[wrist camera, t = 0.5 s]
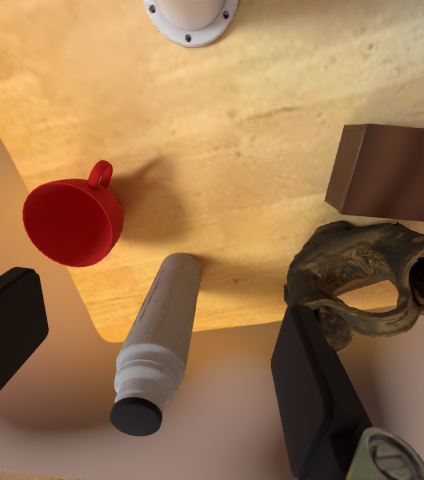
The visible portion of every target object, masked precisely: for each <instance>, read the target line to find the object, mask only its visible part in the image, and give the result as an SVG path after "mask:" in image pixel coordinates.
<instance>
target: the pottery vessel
mask: <svg viewBox="0 0 424 480" xmlns="http://www.w3.org/2000/svg"><path fill="white" fill-rule="evenodd" d="M384 280H389V281H390V282H392V283H393V284H394V285H395V287H396V288H397V290H398V292H399V296H398V300H397V308H396V309H394V310H391V311H388V312H384V313H370V312H365V311H362V310H359V309H357V308H353V307H349V306H348V305H346V304H345V303H344V302H343V301H342V300H340V299H339V298H337V296H339V295H341V294H343V293H346V292H349V291H352V290H355V289H358V288H362V287H364V286H368V285H371V284H375V283H378V282H381V281H384ZM284 301H285V302H286V304H287V305H288V307H291V306H292V305H293V304H301V305H308V306H310V307H311V309H312V311H313V313H314V315H315V317H316V319H317V321H318V324H319V326H320V328H321V330H322V332H323V334H324V336H325V338H326V340H327V342H328V344H329V345H331V346H332V347H333V348H334V350H335V351H336V353H338V352H339V353H340V352H341V351H344V350H346V349H347V348H348V346H349V345H350V344H351V343H352V339H353V338H352V336H354V335H353V333H354V331H356V332H357V333H360V334H361V335H366V336H370V337H381V336H385V337H390V336H394V335H397V334H400V333H403V332H407V331H408V330H410V329H411V328H412V327H413V326H414V324H415V323H416V321H417V319H418V317H419V315H420V314H421V315H424V234H421V233H418V232H415V231H412V230H410V229H408V228H407V227H405V226H403V225H402V224H400V223H398V222H397V223H396V224H392V223H383V224H376V225H371V226H367V227H362V228H352V227H351V225H349V224H347V223H345V222H343V221H337V222H333V223H330V224H326V225H324V226H321V227H319V228H317V229H316V231H315V233H314V234H313V235H312V237H311V238H310V239H309V241H308V242H307V243H306V244H305V245H304V246H303V249H302V250H301V251H300V252H299V253H298V254H297V255H295V256H294V260H293V261H292V263H291V265H290V267H289V271H288V274H287V284H286V285H285V286H284Z"/></svg>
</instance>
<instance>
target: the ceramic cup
mask: <svg viewBox="0 0 424 480" xmlns="http://www.w3.org/2000/svg"><path fill="white" fill-rule="evenodd" d="M112 172H113V167H112V165H111V164H110V163H109V162H107V161H105V160H101V161H99V162H98V163H97V164H96V165H95V166H94V168H93V169H92V171H91V173H90V176H89V179H88V180H83V179H66V180H58V181H52V182H49V183H46V184H43V185H40V186H39V187H37V188H36V189H34V190H33V191H32V192H31V193H30V194H29V195H28V197H27V199H26V201H25V203H24V207H23V222H24V227H25V230H26V232H27V235H28V236H29V238H30V239H31V241H32V243H33V244H34V245H35V246H36V247H37V248H38V250H39V251H41V252H42V253H43V254H44V255H45V256H47V257H48V258H50V259H52V260H53V261H55V262H58V263H60V264H63V265H66V266H70V267H87V266H90V265H94V264H96V263H98V262H99V261H101V260H102V259H103V258H104V257H106V256H107V255H108V253H109V252H110V251H111V249H112V248H113V247H114V245H115V244H116V242H117V241H118V239H119V237H120V234H121V232H122V228H123V221H124V220H123V211H122V208H121V205H120V203H119V201H118V200H117V198H116V197H115V196H114V195H113V193H112V192H111V191H109V190H108V189H107V188H108V186H109V183H110V180H111V176H112ZM101 176H102V177H101ZM100 178H101V180H100ZM99 180H100V183H99Z"/></svg>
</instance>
